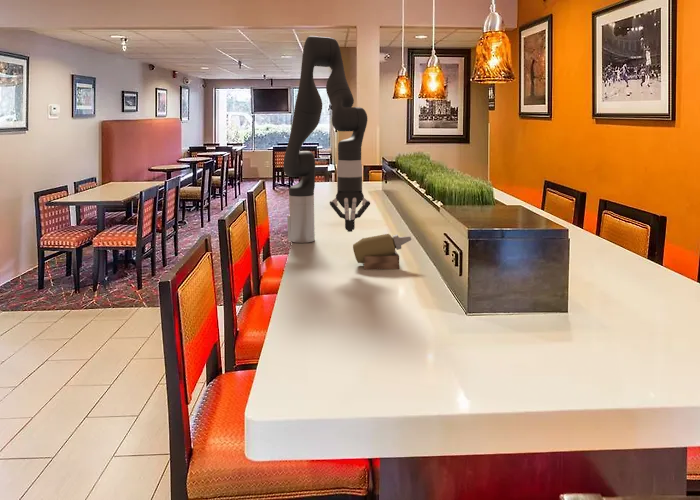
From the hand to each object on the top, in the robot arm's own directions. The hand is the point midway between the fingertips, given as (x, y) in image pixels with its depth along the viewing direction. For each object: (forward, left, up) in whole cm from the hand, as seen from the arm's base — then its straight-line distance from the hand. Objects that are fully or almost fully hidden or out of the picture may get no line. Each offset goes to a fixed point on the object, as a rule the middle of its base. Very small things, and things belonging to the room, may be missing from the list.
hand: (349, 231), depth 184 cm
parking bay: (+8, +4, -11) cm, 14 cm away
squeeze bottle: (+1, 0, -7) cm, 7 cm away
